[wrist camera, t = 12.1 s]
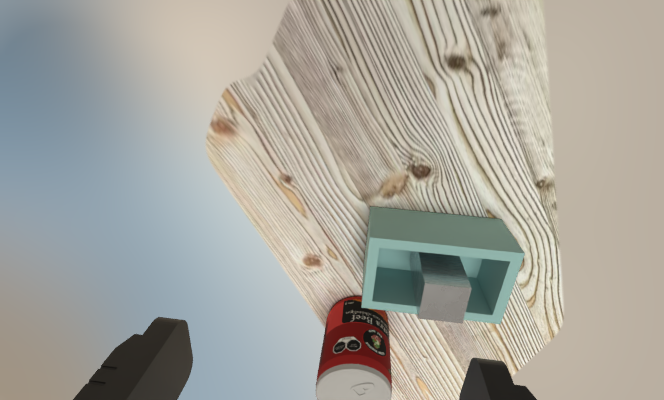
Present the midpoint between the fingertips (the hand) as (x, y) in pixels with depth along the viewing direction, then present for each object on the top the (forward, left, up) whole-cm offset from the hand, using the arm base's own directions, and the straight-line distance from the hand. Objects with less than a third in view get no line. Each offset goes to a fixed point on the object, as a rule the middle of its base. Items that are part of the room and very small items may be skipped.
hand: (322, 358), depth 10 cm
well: (+13, +9, -28) cm, 32 cm away
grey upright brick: (+13, +9, -28) cm, 32 cm away
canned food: (+25, +2, -28) cm, 38 cm away
